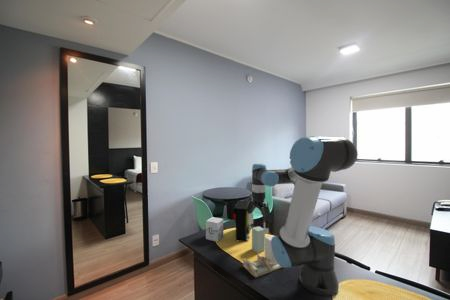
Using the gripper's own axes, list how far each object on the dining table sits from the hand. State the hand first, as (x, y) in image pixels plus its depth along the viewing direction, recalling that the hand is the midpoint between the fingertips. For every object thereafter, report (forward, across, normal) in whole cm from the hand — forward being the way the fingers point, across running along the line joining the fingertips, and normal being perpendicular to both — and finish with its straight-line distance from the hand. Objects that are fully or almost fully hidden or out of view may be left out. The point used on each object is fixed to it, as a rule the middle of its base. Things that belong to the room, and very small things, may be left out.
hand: (258, 228), depth 117 cm
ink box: (+12, +24, +15) cm, 31 cm away
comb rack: (+12, -15, +7) cm, 20 cm away
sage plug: (+12, -1, 0) cm, 12 cm away
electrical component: (+12, +19, -3) cm, 23 cm away
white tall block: (+11, -15, +3) cm, 18 cm away
